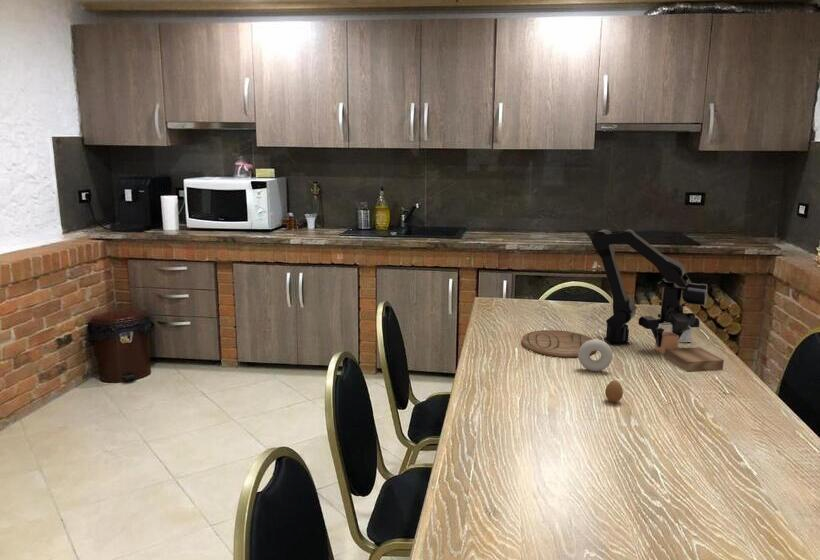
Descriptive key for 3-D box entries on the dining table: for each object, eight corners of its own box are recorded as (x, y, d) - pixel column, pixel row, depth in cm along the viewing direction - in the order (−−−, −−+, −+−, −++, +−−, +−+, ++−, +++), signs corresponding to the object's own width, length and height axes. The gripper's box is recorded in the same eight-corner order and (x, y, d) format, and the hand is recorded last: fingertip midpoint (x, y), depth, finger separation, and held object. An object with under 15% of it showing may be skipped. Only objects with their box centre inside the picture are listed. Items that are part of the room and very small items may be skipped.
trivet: (590, 336, 225) (591, 331, 225) (604, 361, 201) (605, 355, 200) (519, 333, 227) (519, 328, 227) (524, 357, 203) (524, 351, 203)
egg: (600, 399, 170) (602, 378, 169) (614, 397, 172) (616, 376, 171) (611, 406, 166) (613, 384, 165) (625, 403, 168) (627, 382, 167)
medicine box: (690, 343, 219) (693, 318, 217) (677, 342, 219) (680, 318, 217) (681, 335, 226) (684, 312, 224) (669, 335, 226) (671, 312, 224)
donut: (577, 371, 191) (579, 339, 188) (576, 367, 194) (579, 336, 192) (611, 374, 188) (614, 342, 186) (610, 370, 192) (613, 339, 190)
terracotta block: (663, 353, 207) (664, 336, 206) (654, 348, 212) (656, 331, 211) (677, 353, 208) (679, 335, 207) (668, 348, 213) (670, 331, 211)
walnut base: (686, 371, 192) (687, 361, 191) (664, 357, 204) (665, 348, 203) (722, 369, 194) (723, 360, 193) (698, 356, 205) (699, 347, 205)
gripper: (658, 308, 197) (653, 356, 200) (712, 306, 200) (707, 353, 203) (639, 299, 207) (635, 344, 211) (691, 297, 211) (686, 342, 214)
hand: (666, 346), depth 210 cm, fingers closed on terracotta block, 5 cm apart
